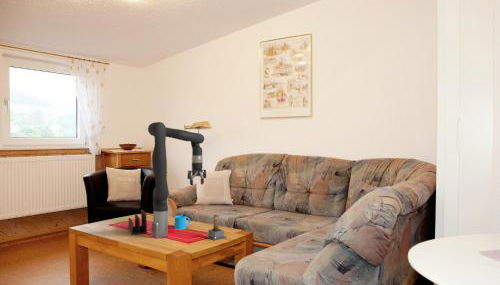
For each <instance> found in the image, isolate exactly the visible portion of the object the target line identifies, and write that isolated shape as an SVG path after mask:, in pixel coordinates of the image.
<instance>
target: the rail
mask: <svg viewBox="0 0 500 285" xmlns="http://www.w3.org/2000/svg"><path fill="white" fill-rule="evenodd" d="M212 229H213V231H215V232H216V231H219V229H220V214H213V227H212Z"/></svg>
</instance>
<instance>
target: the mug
mask: <svg viewBox="0 0 500 285" xmlns="http://www.w3.org/2000/svg"><path fill="white" fill-rule="evenodd" d="M187 219H188V223H187ZM190 223H191V219H190V218H189V217H187V216H186V215H176V216H174V229H175V230H185V229H186V228H187V227H188V226H189V225H190Z"/></svg>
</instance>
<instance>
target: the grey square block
mask: <svg viewBox="0 0 500 285" xmlns="http://www.w3.org/2000/svg"><path fill="white" fill-rule="evenodd" d="M207 232H208V233H207V234H208V235H205V238H206V237H207V238H206V239H209V240H212V241H218V240H223V239H224V240H225V239H227V238H228V237H227V236H226V235H225V234H224V233H225V230H224V229H221V228H219V231H216V232H215V231H213V228H211V229H208V231H207Z"/></svg>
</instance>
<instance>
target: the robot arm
mask: <svg viewBox="0 0 500 285" xmlns="http://www.w3.org/2000/svg"><path fill="white" fill-rule="evenodd" d="M147 132H148V133H149V135H151V136H153V138H154V148H153V150H152V151H153V152H152V156H151V164H152V171H153V175H154V179H155V180H154V182H155V187H154V189H153V191H152V206H153V220H152V222H151V236H152V237H153V238H154V239H163V238H167V237H168V235H169V234H168V228H169V222H168V221H169V217H168V216H169V206H168V197H169V195H170V191H169V186H168V185H169V184H168V178H167V177H168V175H167V174H168V170H167V169H168V164H167V162H168V161H167V146H166V138H171V139H175V140H180V141H184V142H190V145H191V149H192V151H191V152H192V154H191V170H187V180H189V185H190V186H194V179H195V178H196V177H199V178H200V185H204V184H205V179H206V178H207V169H203V164H204V163H203V159H204V158H203V147H201V146H200V145H201V144H202V143H204V141H205V136H204V135H203V134H202V133H199V132H191V131H188V130H184V129H179V128H171V127H167V126H166V125H165V124H164V123H163V122H161V121H158V122H157V121H156V122H152V123H150V124H149V125H148V127H147Z"/></svg>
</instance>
